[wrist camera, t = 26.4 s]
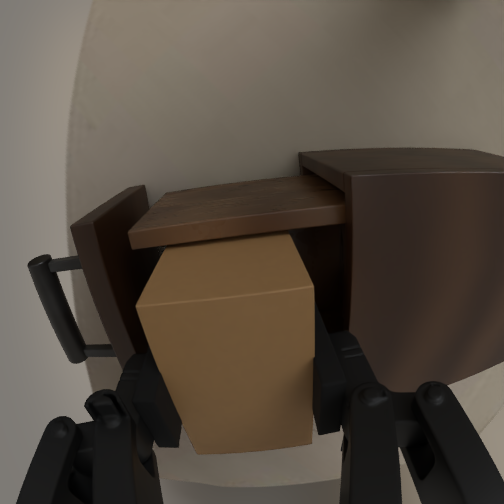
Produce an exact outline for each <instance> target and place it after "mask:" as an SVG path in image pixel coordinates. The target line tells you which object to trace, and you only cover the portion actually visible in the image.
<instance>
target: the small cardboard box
mask: <svg viewBox="0 0 504 504" xmlns="http://www.w3.org/2000/svg"><path fill="white" fill-rule="evenodd" d="M136 310H137V313H138V315H139V318H140V321H141V324H142V327H143V330H144V333H145V335H146V338H147V341H148V344H149V346H150V349H151V352H152V354H153V357H154V359H155V362H156V364H157V367H158V369H159V372H160V373H161V374H162V377H163V379H164V382H165V384H166V386H167V389H168V391H169V393H170V396H171V398H172V400H173V403H174V405H175V407H176V409H177V412H178V414H179V416H180V418H181V420H182V424H183V426H184V428H185V431H186V433H187V435H188V437H189V439H190V441H191V443H192V445H193V447H194V449H195V451H196V453H197V454H227V453H243V452H254V451H265V450H273V449H281V448H289V447H296V446H302V445H308V444H312V431H313V410H312V399H313V358H314V357H315V304H314V285H313V283H312V281H311V279H310V277H309V274H308V272H307V270H306V268H305V266H304V264H303V261H302V259H301V257H300V255H299V253H298V251H297V249H296V247H295V244H294V242H293V240H292V238H291V236H290V234H289V232H288V230H283V231H275V232H266V233H258V234H250V235H242V236H234V237H226V238H218V239H210V240H202V241H194V242H187V243H179V244H172V245H167V246H166V248H165V250H164V252H163V254H162V256H161V257H160V259H159V261H158V263H157V265H156V267H155V269H154V271H153V273H152V275H151V276H150V278H149V280H148V282H147V284H146V286H145V288H144V290H143V292H142V294H141V296H140V298H139V300H138V302H137V304H136Z"/></svg>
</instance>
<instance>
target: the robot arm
mask: <svg viewBox="0 0 504 504" xmlns="http://www.w3.org/2000/svg"><path fill="white" fill-rule="evenodd" d="M314 304H315V357H314V358H313V399H312V410H313V414H314V418H315V423H316V427H317V431H318V435H323V434H328V433H333V432H338V431H340V426H341V425H342V428H343V432H344V436H343V441H342V446H341V451H342V471H341V488H340V504H402V497H401V496H402V494H401V477H400V464H399V452H398V447H400V449H401V451H402V454H403V456H404V459H405V461H406V464H407V466H408V469H409V472H410V474H411V477H412V479H413V482H414V484H415V487H416V490H417V492H418V495H419V498H420V501H421V503H422V504H504V481H503V479H502V477H501V475H500V473H499V471H498V469H497V467H496V465H495V464H494V462H493V460H492V458H491V456H490V455H489V453H488V451H487V449H486V447H485V445H484V444H483V442H482V440H481V438H480V437H479V435H478V433H477V431H476V430H475V428H474V426H473V425H472V423H471V421H470V420H469V418H468V416H467V415H466V413H465V411H464V410H463V408H462V406H461V405H460V403H459V402H458V400H457V398H456V397H455V395H454V394H453V392H452V391H451V389H450V388H449V387H448V386H447V385H445V384H443V383H441V382H437V381H429V382H425V383H423V384H421V385H420V386H419V387H418V389H417V390H416V392H394V391H390V390H389V389H388V388H387V387H386V386H384V385H383V384H380V383H379V382H378V380H377V379H376V377H375V374H374V372H373V370H372V368H371V366H370V364H369V362H368V360H367V358H366V356H365V355H364V352H363V350H362V348H361V347H360V344H359V342H358V340H357V338H356V337H355V336H354V335H353V334H351V333H350V332H349V331H348V330H344V331H338V332H333V333H328V332H327V330H326V327H325V325H324V322H323V320H322V318H321V315H320V313H319V310H318V308H317V305H316V303H315V301H314ZM84 407H85V408H86V410H87V411H88V413H89V414H90V416H91V417H92V419H93V420H94V421H90V422H86V423H80V424H76V423H75V422H74V421H73V420H72V419H71V418H69V417H66V416H60V417H57V418H55V419H53V420H52V421H50V422H49V424H48V425H47V427H46V429H45V431H44V433H43V435H42V438H41V440H40V442H39V445H38V447H37V449H36V452H35V454H34V457H33V459H32V462H31V464H30V467H29V469H28V472H27V474H26V477H25V480H24V482H23V485H22V488H21V491H20V494H19V497H18V500H17V502H16V504H163V498H162V493H161V486H160V480H159V473H158V467H157V459H156V455H155V452H154V451H153V449H152V447H153V442H154V440H155V442H156V444H157V445H158V447H171V448H179V440H180V433H181V425H182V420H181V418H180V416H179V414H178V412H177V409H176V407H175V405H174V403H173V400H172V398H171V396H170V393H169V391H168V389H167V386H166V384H165V382H164V379H163V377H162V374H161V373H160V372H159V369H158V367H157V364H156V362H155V359H154V357H153V354H152V352H151V349H150V346H149V347H148V350H147V353H143V354H133V355H132V356H131V357H130V359H129V360H128V361H127V362H126V364H125V367H124V369H123V373H122V374H121V377H120V381H119V382H118V385H117V388H116V391H113V390H110V389H103V390H100V391H96V392H95V393H93V394H92V395H90V396H89V398H88V399H87V400H86V402H85V405H84Z"/></svg>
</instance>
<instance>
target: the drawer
mask: <svg viewBox="0 0 504 504" xmlns="http://www.w3.org/2000/svg"><path fill="white" fill-rule="evenodd" d="M70 229H71V232H72V236H73V240H74V243H75V246H76V250H77V253H78V256H71V257H65V258H58V259H52V258H51V255H48V254H46V255H41V256H38V257H36V258H34V259H32V260H31V261H30V262H29V263H28V268H29V271H30V274H31V277H32V279H33V282H34V285H35V287H36V290H37V292H38V295H39V297H40V300H41V302H42V304H43V307H44V309H45V311H46V314H47V316H48V318H49V320H50V323H51V325H52V327H53V329H54V331H55V333H56V335H57V337H58V339H59V341H60V343H61V346H62V347H63V350H64V351H65V353H66V355H67V357H68V359H69V361H70V362H71V363H76V364H77V363H81V362H83V361H85V360H86V359H87V358H88V357H117V358H118V361H119V363H120V365H121V367H122V369H124V367H125V364H126V362H127V361H128V360H129V359H130V357H131V356H132V355H133V354H143V353H147V350H148V347H149V344H148V341H147V338H146V335H145V333H144V330H143V327H142V324H141V321H140V318H139V315H138V313H137V310H136V304H137V302H138V300H139V298H140V296H141V294H142V292H143V290H144V288H145V286H146V284H147V282H148V280H149V278H150V276H151V275H152V273H153V271H154V269H155V267H156V265H157V263H158V261H159V259H160V254H159V250H158V246H164V245H172V244H179V243H187V242H194V241H202V240H210V239H218V238H226V237H234V236H242V235H250V234H258V233H266V232H275V231H283V230H288V232H289V234H290V236H291V238H292V240H293V242H294V244H295V247H296V249H297V251H298V253H299V255H300V257H301V259H302V261H303V264H304V266H305V268H306V270H307V272H308V274H309V277H310V279H311V281H312V283H313V285H314V301H315V303H316V305H317V308H318V310H319V313H320V315H321V318H322V320H323V322H324V325H325V327H326V330H327V332H328V333H333V332H338V331H343V325H344V305H345V272H346V217H345V192H343V191H342V190H340V189H339V188H337V187H336V186H334V185H333V184H331V183H329V182H328V181H326V180H325V179H323V178H322V177H320V176H318V175H317V174H313V175H301V176H291V177H281V178H271V179H262V180H254V181H245V182H237V183H229V184H222V185H214V186H207V187H200V188H194V189H187V190H181V191H174V192H168V193H166V194H165V195H164V196H163V197H162V198H161V199H160V200H159V201H158V202H157V203H155V204H154V205H153V206H152V207H151V208H150V209H149V204H148V199H147V194H146V188H145V185H140V186H134V187H129V188H127V189H126V190H124V191H122V192H121V193H119V194H118V195H116V196H114V197H113V198H111V199H110V200H108V201H107V202H105V203H104V204H102V205H100V206H99V207H97V208H96V209H94V210H93V211H91V212H90V213H88V214H87V215H86V216H84V217H83V218H81V219H80V220H78V221H77V222H75V223H74V224H72V225H71V226H70ZM75 269H83V272H84V275H85V278H86V281H87V284H88V287H89V289H90V292H91V295H92V298H93V301H94V303H95V306H96V308H97V311H98V314H99V316H100V319H101V321H102V324H103V326H104V329H105V331H106V333H107V336H108V338H109V340H110V343H111V344H94V345H86V343H85V341H84V339H83V337H82V335H81V333H80V330H79V328H78V326H77V324H76V321H75V319H74V317H73V314H72V312H71V309H70V307H69V304H68V302H67V299H66V297H65V294H64V292H63V289H62V286H61V284H60V281H59V278H58V276H57V272H59V271H67V270H75Z"/></svg>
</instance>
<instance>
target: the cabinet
mask: <svg viewBox="0 0 504 504" xmlns="http://www.w3.org/2000/svg"><path fill="white" fill-rule="evenodd" d="M299 163H300V174H301V175H313V174H317V175H318V176H320V177H322V178H323V179H325V180H326V181H328V182H329V183H331V184H333V185H334V186H336V187H337V188H339V189H340V190H342V191H343V192H345V217H346V272H345V305H344V325H343V331H344V330H348V331H349V332H350V333H351V334H353V335H354V336H355V337H356V338H357V340H358V342H359V344H360V347H361V348H362V350H363V352H364V355H365V356H366V358H367V360H368V362H369V364H370V366H371V368H372V370H373V372H374V374H375V377H376V379H377V380H378V382H379V383H380V384H383V385H384V386H386V387H387V388H388V389H389V390H390V391H394V392H416V390H417V389H418V387H419V386H420V385H421V384H423V383H425V382H429V381H437V382H441V383H443V384H445V385H449V384H452V383H455V382H457V381H460V380H462V379H465V378H467V377H470V376H472V375H475V374H477V373H479V372H482V371H484V370H486V369H488V368H491V367H493V366H495V365H497V364H499V363H501V362H503V361H504V157H503V156H499V155H495V154H490V153H486V152H482V151H477V150H470V149H448V148H364V149H340V150H323V151H309V152H299Z"/></svg>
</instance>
